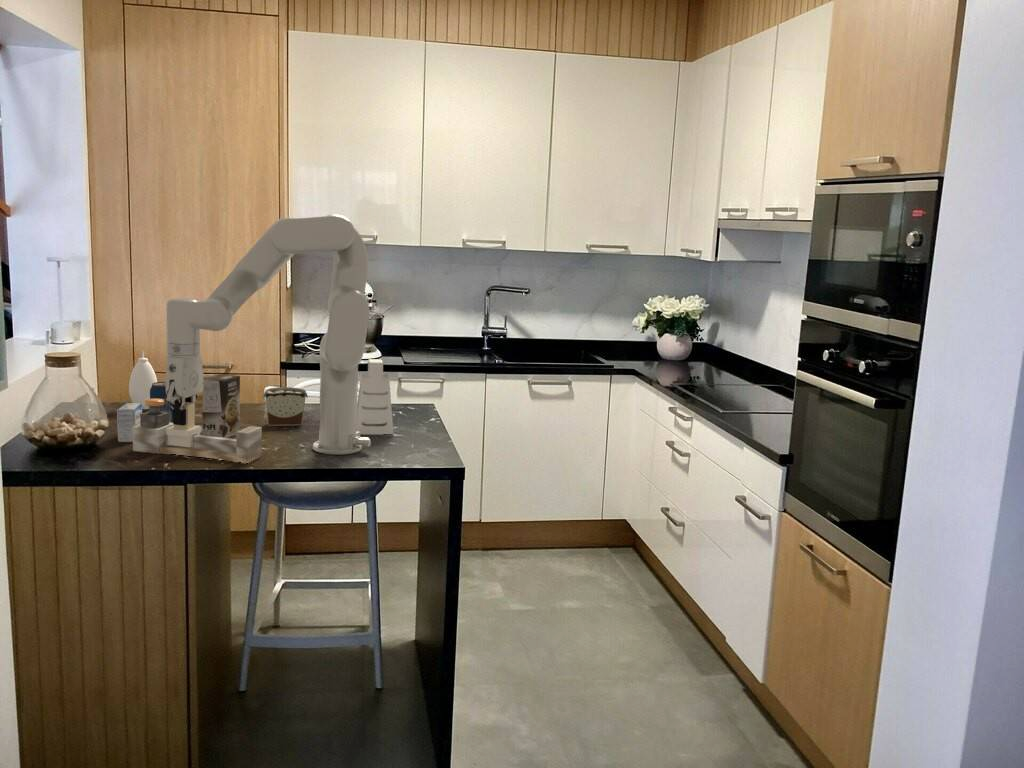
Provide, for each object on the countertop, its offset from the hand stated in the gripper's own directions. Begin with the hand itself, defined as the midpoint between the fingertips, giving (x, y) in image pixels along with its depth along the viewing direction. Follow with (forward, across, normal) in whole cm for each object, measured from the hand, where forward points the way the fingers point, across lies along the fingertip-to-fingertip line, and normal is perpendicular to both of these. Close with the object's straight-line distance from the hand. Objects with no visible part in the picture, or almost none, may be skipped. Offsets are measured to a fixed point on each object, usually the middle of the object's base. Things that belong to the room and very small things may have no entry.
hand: (184, 422), depth 225 cm
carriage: (+6, 0, 0) cm, 6 cm away
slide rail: (+8, 0, -4) cm, 8 cm away
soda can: (+8, +21, +19) cm, 29 cm away
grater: (+8, +42, -34) cm, 55 cm away
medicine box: (+8, +6, +19) cm, 21 cm away
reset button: (-1, 0, +8) cm, 8 cm away
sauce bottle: (+8, +37, +36) cm, 52 cm away
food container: (+8, +39, -8) cm, 41 cm away
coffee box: (+8, +18, 0) cm, 20 cm away
